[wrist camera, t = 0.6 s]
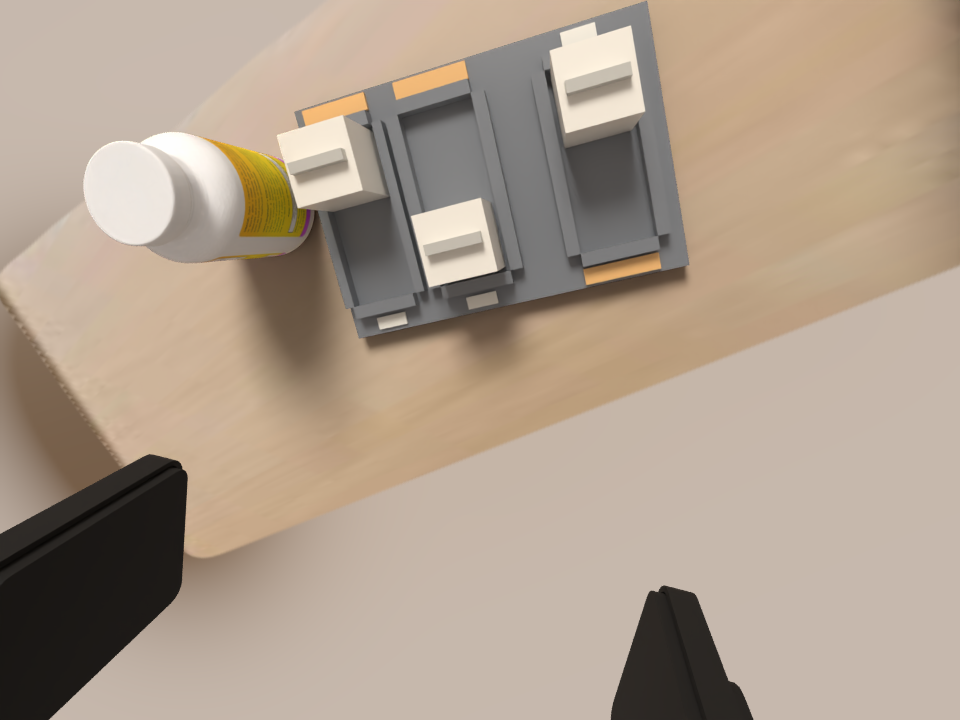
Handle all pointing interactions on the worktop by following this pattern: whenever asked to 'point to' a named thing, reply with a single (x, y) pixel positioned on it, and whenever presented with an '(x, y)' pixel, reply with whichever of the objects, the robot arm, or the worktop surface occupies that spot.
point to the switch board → (486, 181)
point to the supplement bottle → (194, 199)
